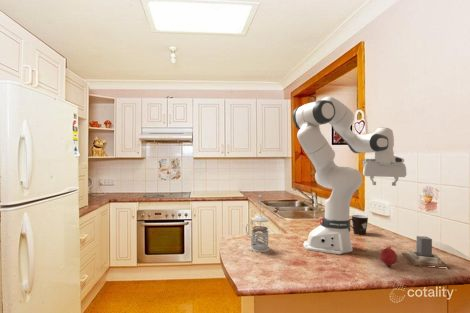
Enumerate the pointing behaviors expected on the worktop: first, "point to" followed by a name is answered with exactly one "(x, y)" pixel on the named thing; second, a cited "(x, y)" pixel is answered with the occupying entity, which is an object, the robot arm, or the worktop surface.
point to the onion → (388, 256)
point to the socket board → (424, 259)
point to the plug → (424, 246)
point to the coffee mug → (359, 224)
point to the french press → (259, 234)
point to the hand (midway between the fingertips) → (383, 185)
